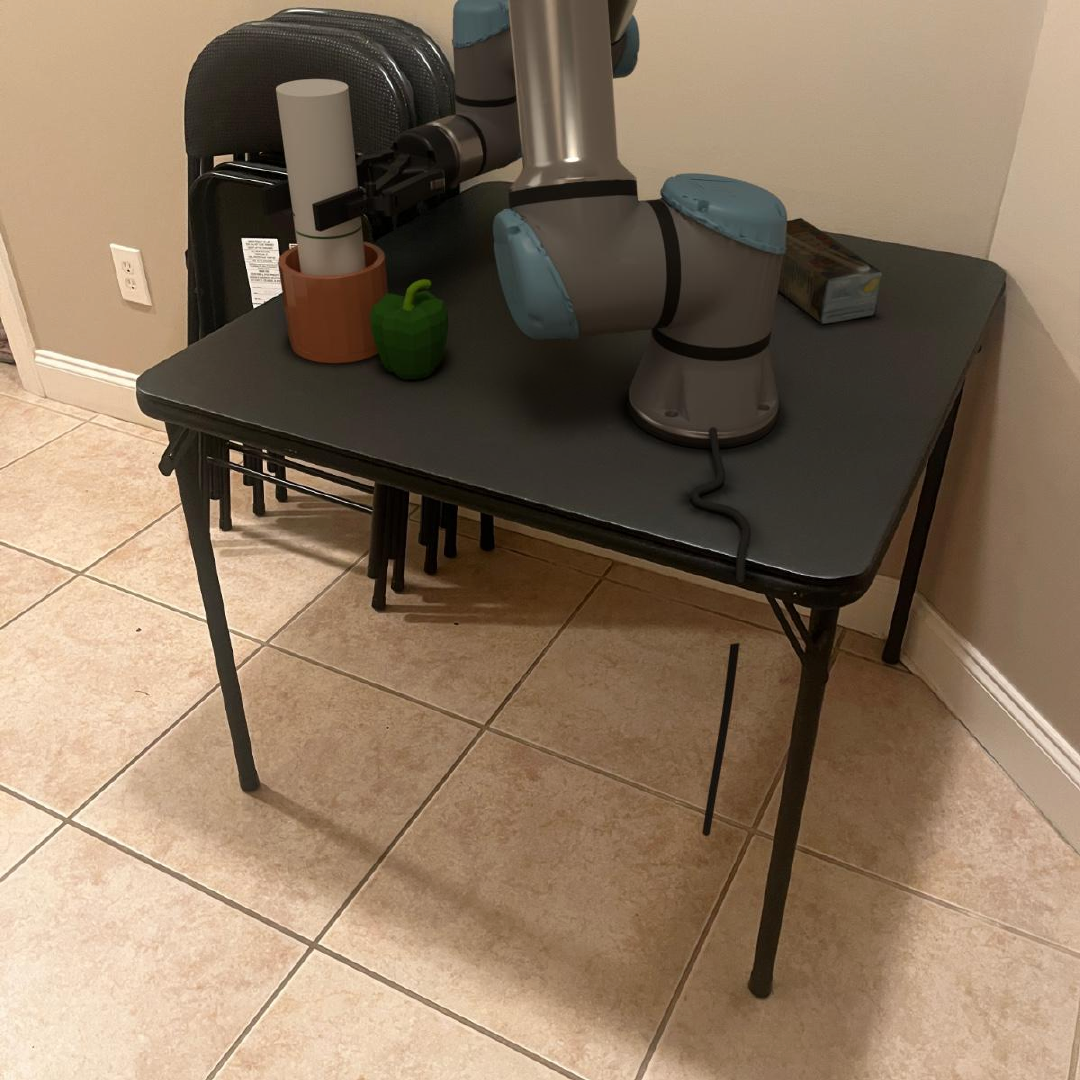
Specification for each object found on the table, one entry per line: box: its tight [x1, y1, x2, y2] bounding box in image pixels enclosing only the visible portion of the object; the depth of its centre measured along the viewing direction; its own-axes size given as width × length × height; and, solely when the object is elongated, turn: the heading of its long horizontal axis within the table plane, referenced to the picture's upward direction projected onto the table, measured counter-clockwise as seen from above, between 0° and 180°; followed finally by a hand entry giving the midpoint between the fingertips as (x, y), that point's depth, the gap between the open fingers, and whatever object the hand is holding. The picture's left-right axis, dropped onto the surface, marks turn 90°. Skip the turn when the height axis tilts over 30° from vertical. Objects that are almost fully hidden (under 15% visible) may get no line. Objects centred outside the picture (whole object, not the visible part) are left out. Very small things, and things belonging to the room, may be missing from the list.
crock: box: [277, 240, 389, 364], centre depth 116 cm, size 12×12×10 cm
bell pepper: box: [370, 278, 449, 380], centre depth 110 cm, size 8×8×10 cm
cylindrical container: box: [275, 78, 366, 276], centre depth 110 cm, size 7×7×25 cm
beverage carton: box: [778, 217, 883, 325], centre depth 129 cm, size 8×19×7 cm, turn 19°
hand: (290, 209), depth 106 cm, fingers closed on cylindrical container, 7 cm apart
